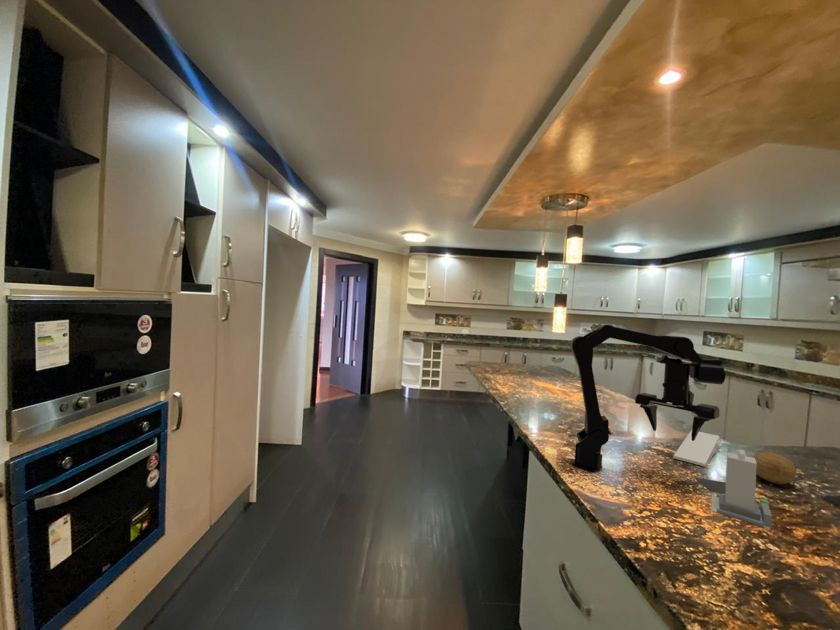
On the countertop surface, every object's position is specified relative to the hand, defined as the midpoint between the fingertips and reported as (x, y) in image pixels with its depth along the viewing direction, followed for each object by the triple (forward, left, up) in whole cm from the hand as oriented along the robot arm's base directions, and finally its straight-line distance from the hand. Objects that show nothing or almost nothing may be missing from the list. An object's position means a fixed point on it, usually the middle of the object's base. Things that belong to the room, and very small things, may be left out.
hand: (673, 435), depth 100 cm
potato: (+17, +29, -13) cm, 36 cm away
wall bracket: (-2, +35, -14) cm, 38 cm away
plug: (+15, -5, -12) cm, 20 cm away
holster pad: (+9, +8, -13) cm, 18 cm away
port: (+15, -5, -13) cm, 21 cm away
